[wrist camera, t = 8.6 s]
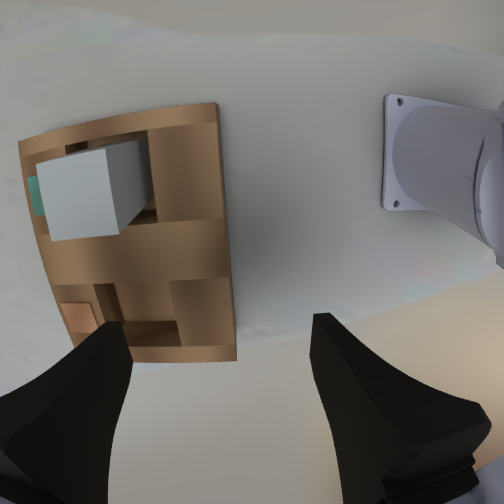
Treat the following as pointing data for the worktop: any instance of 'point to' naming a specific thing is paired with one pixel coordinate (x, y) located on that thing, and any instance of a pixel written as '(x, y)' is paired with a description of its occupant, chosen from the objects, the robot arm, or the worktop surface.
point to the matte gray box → (96, 189)
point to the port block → (148, 241)
